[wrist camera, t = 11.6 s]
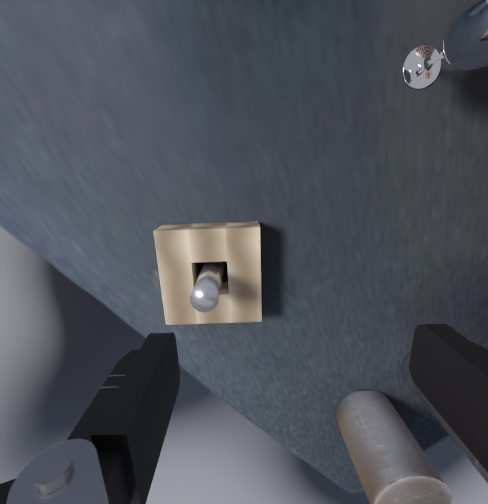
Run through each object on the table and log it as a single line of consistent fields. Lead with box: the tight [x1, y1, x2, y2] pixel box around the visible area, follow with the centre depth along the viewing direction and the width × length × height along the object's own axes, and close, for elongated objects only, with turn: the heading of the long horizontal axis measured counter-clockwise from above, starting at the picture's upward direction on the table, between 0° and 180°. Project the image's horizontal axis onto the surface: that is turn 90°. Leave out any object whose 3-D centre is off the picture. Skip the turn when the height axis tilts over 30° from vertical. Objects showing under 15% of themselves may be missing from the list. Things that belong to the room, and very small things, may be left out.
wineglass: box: [402, 0, 488, 89], centre depth 25 cm, size 6×6×12 cm
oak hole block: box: [153, 221, 262, 325], centre depth 36 cm, size 13×13×4 cm
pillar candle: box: [336, 390, 452, 504], centre depth 38 cm, size 10×10×15 cm
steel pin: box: [190, 262, 224, 312], centre depth 33 cm, size 3×3×10 cm
